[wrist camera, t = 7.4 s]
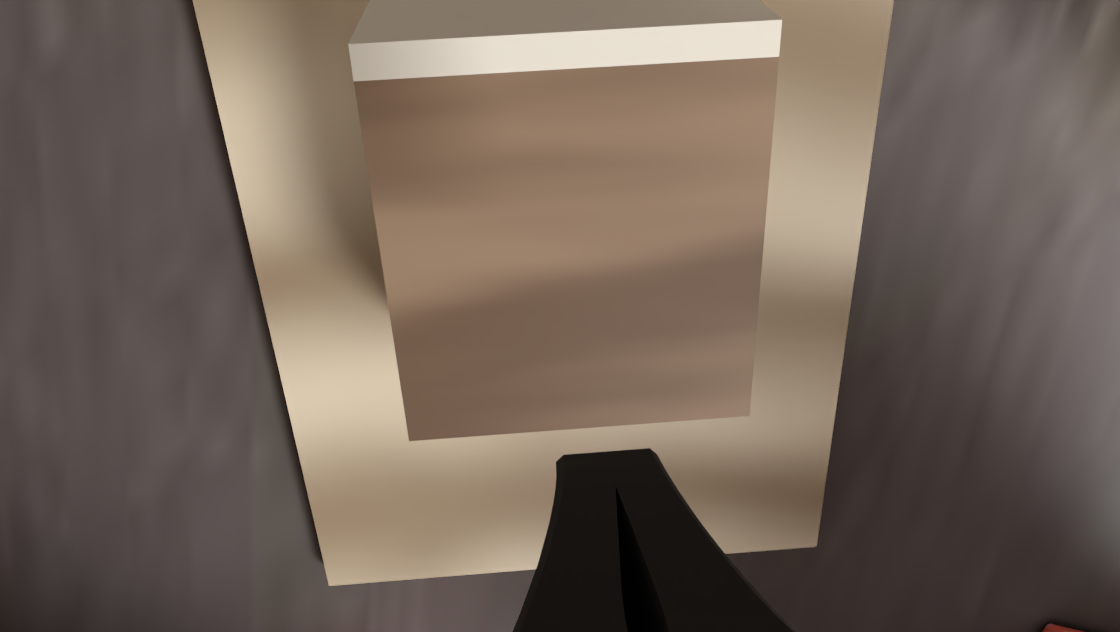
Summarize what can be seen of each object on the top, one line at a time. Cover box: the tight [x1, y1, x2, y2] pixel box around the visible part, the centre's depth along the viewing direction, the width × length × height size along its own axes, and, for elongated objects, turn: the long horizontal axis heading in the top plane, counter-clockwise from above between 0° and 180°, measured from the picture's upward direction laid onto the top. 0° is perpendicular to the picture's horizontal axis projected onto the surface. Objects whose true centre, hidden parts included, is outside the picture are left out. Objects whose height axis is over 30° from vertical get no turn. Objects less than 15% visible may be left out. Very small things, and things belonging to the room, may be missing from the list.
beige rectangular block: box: [348, 0, 782, 441], centre depth 19 cm, size 4×7×8 cm
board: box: [193, 0, 894, 586], centre depth 22 cm, size 18×14×1 cm
